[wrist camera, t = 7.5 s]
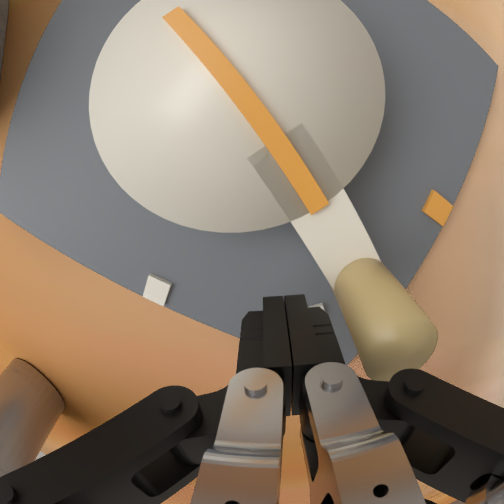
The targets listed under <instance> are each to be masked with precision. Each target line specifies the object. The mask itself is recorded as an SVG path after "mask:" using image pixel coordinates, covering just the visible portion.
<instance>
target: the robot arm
mask: <svg viewBox="0 0 504 504" xmlns="http://www.w3.org/2000/svg"><path fill="white" fill-rule="evenodd" d="M64 408H65V405H64V401H63V399H62V398H61V396H60V394H59V393H58V392H57V390H56V389H55V388H54V387H53V385H52V384H51V383H50V382H49V381H48V380H47V379H46V378H45V377H44V376H43V375H42V374H41V373H40V372H39V371H37V370H36V369H35V368H34V367H32V366H31V365H30V364H28V363H27V362H25V361H23V360H20V359H14V360H13V361H12V362H11V363H10V364H9V365H8V367H7V368H6V369H5V370H4V371H3V372H2V374H1V375H0V504H160V503H162V502H163V501H165V500H166V499H168V498H169V497H171V496H172V495H173V494H175V493H176V492H178V491H179V490H180V489H182V488H183V487H184V486H186V485H187V484H188V483H190V482H191V481H192V480H194V479H195V478H196V477H197V480H196V484H195V488H194V492H193V496H192V499H191V503H190V504H279V498H280V482H281V466H282V449H283V436H284V434H285V426H286V416H290V411H291V410H292V415H300V423H301V428H300V438H301V443H302V449H303V454H304V459H305V464H306V469H307V474H308V479H309V486H310V504H436V503H434V502H432V501H430V500H427V499H424V497H423V495H422V492H421V490H420V487H419V485H418V482H417V480H416V479H418V480H419V481H421V482H423V483H425V484H427V485H429V486H431V487H433V488H435V489H437V490H439V491H441V492H443V493H445V494H447V495H449V496H451V497H453V498H455V499H458V500H460V501H462V502H464V503H465V504H504V408H502V407H500V406H497V405H495V404H493V403H491V402H488V401H486V400H484V399H482V398H480V397H477V396H475V395H473V394H471V393H469V392H466V391H464V390H462V389H460V388H458V387H456V386H454V385H452V384H449V383H447V382H445V381H443V380H441V379H439V378H437V377H435V376H433V375H431V374H429V373H426V372H424V371H422V370H419V369H413V368H409V369H403V370H400V371H398V372H397V373H395V374H394V375H393V376H392V378H391V379H390V381H376V380H367V379H363V378H361V377H358V376H357V374H356V373H355V371H354V370H353V369H351V368H350V367H348V366H347V365H346V364H345V361H344V358H343V355H342V352H341V349H340V346H339V343H338V340H337V338H336V335H335V333H334V329H333V326H332V323H331V320H330V318H329V315H328V314H327V313H326V312H325V311H324V310H323V309H322V308H321V307H309V308H308V306H307V302H306V298H305V295H304V294H299V295H284V299H283V296H269V297H263V311H248V313H247V314H246V315H245V317H244V318H243V319H242V323H241V332H240V342H239V352H238V361H237V371H236V375H235V376H233V378H232V379H231V380H230V382H229V385H228V386H226V387H225V388H223V389H221V390H219V391H216V392H213V393H209V394H204V395H200V396H196V395H195V393H194V392H192V391H191V390H190V389H188V388H185V387H182V386H167V387H163V388H161V389H158V390H157V391H155V392H153V393H152V394H150V395H149V396H147V397H146V398H144V399H143V400H141V401H139V402H138V403H136V404H135V405H133V406H131V407H130V408H128V409H127V410H125V411H123V412H122V413H120V414H119V415H117V416H115V417H114V418H112V419H110V420H109V421H107V422H105V423H104V424H102V425H100V426H98V427H97V428H95V429H93V430H91V431H90V432H88V433H86V434H84V435H83V436H81V437H79V438H77V439H76V440H74V441H72V442H70V443H68V444H66V445H64V446H63V447H61V448H59V449H57V450H55V451H53V452H51V453H49V454H47V455H45V456H43V457H41V458H39V459H37V460H35V459H36V457H37V455H38V453H39V451H40V450H41V448H42V446H43V444H44V442H45V441H46V439H47V437H48V435H49V434H50V432H51V430H52V429H53V427H54V425H55V423H56V422H57V420H58V418H59V417H60V415H61V413H62V412H63V410H64ZM373 493H374V494H373Z"/></svg>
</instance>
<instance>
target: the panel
mask: <svg viewBox="0 0 504 504" xmlns="http://www.w3.org/2000/svg"><path fill="white" fill-rule="evenodd" d="M139 1H141V0H62V1H61V3H60V4H59V6H58V8H57V9H56V11H55V13H54V14H53V16H52V18H51V20H50V22H49V24H48V25H47V27H46V29H45V31H44V33H43V35H42V37H41V39H40V41H39V43H38V46H37V48H36V50H35V52H34V54H33V57H32V59H31V62H30V64H29V66H28V69H27V72H26V74H25V77H24V80H23V82H22V85H21V88H20V91H19V94H18V97H17V101H16V104H15V107H14V111H13V115H12V118H11V122H10V126H9V131H8V135H7V140H6V145H5V150H4V155H3V161H2V168H1V175H0V213H1V214H3V215H4V216H5V217H7V218H8V219H10V220H11V221H13V222H14V223H16V224H17V225H19V226H20V227H21V228H23V229H25V230H26V231H28V232H29V233H31V234H32V235H34V236H35V237H37V238H38V239H40V240H42V241H43V242H45V243H46V244H48V245H50V246H51V247H53V248H55V249H56V250H58V251H60V252H61V253H63V254H65V255H66V256H68V257H70V258H71V259H73V260H75V261H77V262H78V263H80V264H82V265H84V266H86V267H87V268H89V269H91V270H93V271H95V272H96V273H98V274H100V275H102V276H104V277H106V278H108V279H110V280H111V281H113V282H115V283H117V284H119V285H121V286H123V287H125V288H127V289H129V290H131V291H133V292H135V293H137V294H139V295H141V296H143V297H144V298H146V299H149V300H151V301H153V302H155V303H157V304H159V305H161V306H165V307H167V308H169V309H171V310H173V311H176V312H178V313H180V314H182V315H185V316H187V317H189V318H191V319H194V320H196V321H198V322H201V323H203V324H206V325H208V326H210V327H213V328H215V329H218V330H220V331H223V332H225V333H228V334H230V335H233V336H236V337H238V338H240V332H241V323H242V319H243V318H244V317H245V315H246V314H247V313H248V311H263V297H269V296H283V299H284V295H299V294H304V295H305V298H306V302H307V306H308V308H309V307H321V308H322V309H323V310H324V311H325V312H326V313H327V314H328V315H329V318H330V320H331V323H332V326H333V329H334V333H335V335H336V338H337V340H338V343H339V346H340V349H341V352H342V355H343V358H344V361H345V364H346V365H348V364H349V363H350V362H351V361H352V360H353V358H354V357H355V356H356V355H357V354H358V351H357V349H356V346H355V344H354V341H353V339H352V336H351V334H350V331H349V329H348V326H347V324H346V321H345V319H344V316H343V314H342V312H341V309H340V307H339V304H338V302H337V300H336V297H335V295H334V293H333V290H332V288H331V286H330V284H329V282H328V280H327V279H326V277H325V275H324V274H323V272H322V271H321V269H320V267H319V266H318V264H317V262H316V261H315V259H314V258H313V256H312V254H311V253H310V251H309V250H308V248H307V247H306V245H305V243H304V242H303V240H302V239H301V237H300V236H299V234H298V233H297V231H296V229H295V228H294V226H293V225H292V223H291V222H288V223H285V224H283V225H279V226H275V227H271V228H267V229H263V230H258V231H250V232H242V233H219V232H211V231H202V230H198V229H194V228H190V227H186V226H182V225H179V224H177V223H174V222H171V221H169V220H166V219H164V218H162V217H160V216H158V215H156V214H155V213H153V212H151V211H149V210H147V209H146V208H145V207H143V206H142V205H141V204H139V203H138V202H137V201H135V200H134V199H133V198H132V197H131V196H129V195H128V194H127V193H126V192H125V191H124V190H123V189H122V188H121V187H120V186H119V184H118V183H117V182H116V181H115V179H114V178H113V177H112V175H111V174H110V173H109V171H108V169H107V168H106V166H105V164H104V162H103V161H102V159H101V157H100V154H99V152H98V150H97V147H96V145H95V142H94V138H93V134H92V130H91V125H90V116H89V92H90V85H91V80H92V75H93V71H94V68H95V65H96V62H97V59H98V57H99V55H100V52H101V50H102V48H103V46H104V44H105V42H106V40H107V39H108V37H109V36H110V34H111V32H112V31H113V29H114V28H115V27H116V25H117V24H118V23H119V22H120V20H121V19H122V18H123V17H124V16H125V15H126V14H127V13H128V12H129V11H130V10H131V9H132V8H133V7H134V6H135V5H136V4H137V3H138V2H139ZM341 1H342V2H343V3H344V4H345V5H346V6H347V7H348V8H349V9H350V10H351V11H352V12H353V13H354V14H355V15H356V16H357V18H358V19H359V20H360V21H361V23H362V24H363V25H364V27H365V28H366V30H367V32H368V33H369V35H370V37H371V39H372V41H373V43H374V45H375V47H376V50H377V52H378V55H379V58H380V60H381V65H382V69H383V74H384V80H385V108H384V116H383V120H382V124H381V128H380V132H379V135H378V137H377V140H376V142H375V144H374V147H373V149H372V151H371V153H370V155H369V156H368V158H367V160H366V161H365V163H364V165H363V166H362V168H361V169H360V170H359V171H358V173H357V174H356V175H355V176H354V178H353V179H352V180H351V181H350V182H349V183H348V184H347V185H346V186H345V187H344V188H343V189H344V190H345V192H346V194H347V196H348V198H349V199H350V201H351V203H352V205H353V207H354V208H355V210H356V212H357V214H358V216H359V218H360V220H361V222H362V224H363V226H364V227H365V229H366V231H367V233H368V235H369V237H370V239H371V241H372V243H373V246H374V248H375V250H376V252H377V254H378V256H379V258H380V260H381V262H382V263H383V264H384V265H385V266H386V268H387V269H388V270H389V271H390V272H391V273H392V274H393V275H394V277H395V278H396V279H397V280H398V281H399V282H400V283H401V285H402V286H403V287H404V288H405V289H406V288H407V286H408V285H409V283H410V282H411V280H412V278H413V277H414V275H415V274H416V272H417V270H418V269H419V267H420V266H421V264H422V262H423V261H424V259H425V257H426V256H427V254H428V252H429V250H430V249H431V247H432V245H433V243H434V242H435V240H436V238H437V236H438V234H439V232H440V230H441V229H442V227H443V226H444V224H445V222H446V220H447V218H448V216H449V214H450V212H451V210H452V208H453V205H454V202H455V200H456V198H457V196H458V194H459V192H460V189H461V187H462V185H463V182H464V180H465V178H466V175H467V173H468V170H469V168H470V165H471V163H472V160H473V157H474V155H475V152H476V149H477V146H478V143H479V141H480V138H481V135H482V131H483V128H484V125H485V122H486V118H487V115H488V111H489V107H490V103H491V100H492V95H493V91H494V87H495V82H496V77H497V71H498V65H497V64H496V63H495V62H494V61H493V60H492V59H491V57H490V56H489V55H488V54H487V53H486V52H485V51H484V50H483V49H482V48H481V47H480V46H479V45H478V44H477V43H476V42H475V41H474V40H473V39H472V38H471V37H470V36H469V35H468V34H467V33H466V32H465V31H464V30H463V29H461V28H460V27H459V26H458V25H457V24H456V23H455V22H453V21H452V20H451V19H450V18H449V17H448V16H446V15H445V14H444V13H443V12H441V11H440V10H439V9H438V8H436V7H435V6H434V5H432V4H431V3H430V2H428V1H427V0H341Z"/></svg>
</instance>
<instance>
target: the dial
mask: <svg viewBox="0 0 504 504" xmlns="http://www.w3.org/2000/svg"><path fill="white" fill-rule="evenodd" d="M384 108H385V80H384V74H383V69H382V65H381V60H380V58H379V55H378V52H377V50H376V47H375V45H374V43H373V41H372V39H371V37H370V35H369V33H368V32H367V30H366V28H365V27H364V25H363V24H362V23H361V21H360V20H359V19H358V18H357V16H356V15H355V14H354V13H353V12H352V11H351V10H350V9H349V8H348V7H347V6H346V5H345V4H344V3H343V2H342V1H341V0H141V1H139V2H138V3H137V4H136V5H135V6H134V7H133V8H132V9H131V10H130V11H129V12H128V13H127V14H126V15H125V16H124V17H123V18H122V19H121V20H120V22H119V23H118V24H117V25H116V27H115V28H114V29H113V31H112V32H111V34H110V36H109V37H108V39H107V40H106V42H105V44H104V46H103V48H102V50H101V52H100V55H99V57H98V59H97V62H96V65H95V68H94V71H93V75H92V80H91V85H90V92H89V116H90V125H91V130H92V134H93V138H94V142H95V145H96V147H97V150H98V152H99V154H100V157H101V159H102V161H103V162H104V164H105V166H106V168H107V169H108V171H109V173H110V174H111V175H112V177H113V178H114V179H115V181H116V182H117V183H118V184H119V186H120V187H121V188H122V189H123V190H124V191H125V192H126V193H127V194H128V195H129V196H131V197H132V198H133V199H134V200H135V201H137V202H138V203H139V204H141V205H142V206H143V207H145V208H146V209H147V210H149V211H151V212H153V213H155V214H156V215H158V216H160V217H162V218H164V219H166V220H169V221H171V222H174V223H177V224H179V225H182V226H186V227H190V228H194V229H198V230H202V231H211V232H219V233H242V232H250V231H258V230H263V229H267V228H271V227H275V226H279V225H283V224H285V223H288V222H291V223H292V225H293V226H294V228H295V229H296V231H297V233H298V234H299V236H300V237H301V239H302V240H303V242H304V243H305V245H306V247H307V248H308V250H309V251H310V253H311V254H312V256H313V258H314V259H315V261H316V262H317V264H318V266H319V267H320V269H321V271H322V272H323V274H324V275H325V277H326V279H327V280H328V282H329V284H330V286H331V288H332V290H333V293H334V295H335V297H336V300H337V302H338V304H339V307H340V309H341V312H342V314H343V316H344V319H345V321H346V324H347V326H348V329H349V331H350V334H351V336H352V339H353V341H354V344H355V346H356V349H357V351H358V354H359V357H360V359H361V362H362V365H363V367H364V370H365V372H366V374H367V376H368V377H369V378H370V379H372V380H376V381H390V379H391V378H392V376H393V375H394V374H395V373H397V372H398V371H400V370H403V369H409V368H413V369H419V368H420V367H421V366H423V365H424V364H425V363H426V361H427V360H428V359H429V358H430V356H431V355H432V353H433V351H434V349H435V347H436V344H437V340H438V331H437V328H436V326H435V325H434V324H433V322H432V321H431V320H430V318H429V317H428V316H427V315H426V313H425V312H424V311H423V310H422V308H421V307H420V306H419V305H418V304H417V302H416V301H415V300H414V299H413V298H412V296H411V295H410V294H409V293H408V292H407V290H406V289H405V288H404V287H403V286H402V285H401V283H400V282H399V281H398V280H397V279H396V278H395V277H394V275H393V274H392V273H391V272H390V271H389V270H388V269H387V268H386V266H385V265H384V264H383V263H382V262H381V260H380V258H379V256H378V254H377V252H376V250H375V248H374V246H373V243H372V241H371V239H370V237H369V235H368V233H367V231H366V229H365V227H364V226H363V224H362V222H361V220H360V218H359V216H358V214H357V212H356V210H355V208H354V207H353V205H352V203H351V201H350V199H349V198H348V196H347V194H346V192H345V190H344V189H343V188H344V187H345V186H346V185H347V184H348V183H349V182H350V181H351V180H352V179H353V178H354V176H355V175H356V174H357V173H358V171H359V170H360V169H361V168H362V166H363V165H364V163H365V161H366V160H367V158H368V156H369V155H370V153H371V151H372V149H373V147H374V144H375V142H376V140H377V137H378V135H379V132H380V128H381V124H382V120H383V116H384Z"/></svg>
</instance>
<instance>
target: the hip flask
mask: <svg viewBox="0 0 504 504" xmlns="http://www.w3.org/2000/svg"><path fill="white" fill-rule="evenodd" d="M8 7H9V0H0V78H1V69H2V61H3V52H4V44H5V36H6V28H7V19H8Z"/></svg>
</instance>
